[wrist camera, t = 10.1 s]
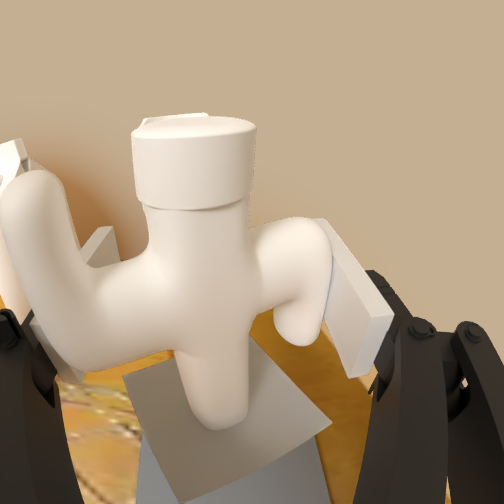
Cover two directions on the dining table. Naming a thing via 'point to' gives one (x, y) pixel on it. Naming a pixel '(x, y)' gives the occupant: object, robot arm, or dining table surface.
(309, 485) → the slate pad
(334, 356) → the dining table surface
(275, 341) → the dining table surface
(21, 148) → the milk
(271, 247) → the figurine
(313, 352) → the dining table surface
